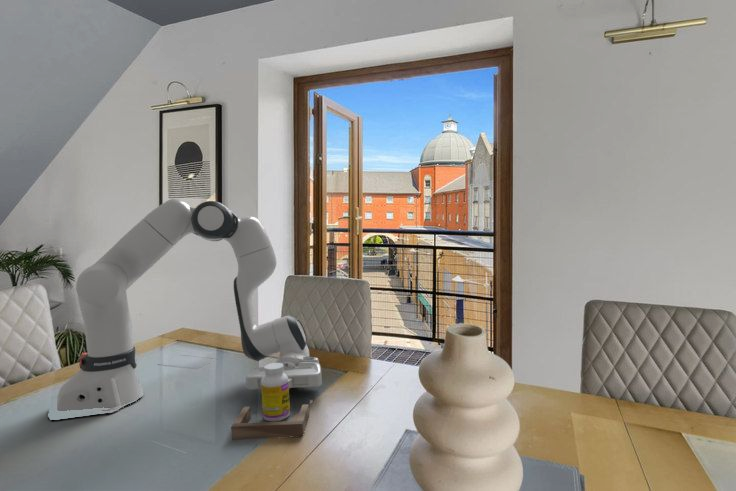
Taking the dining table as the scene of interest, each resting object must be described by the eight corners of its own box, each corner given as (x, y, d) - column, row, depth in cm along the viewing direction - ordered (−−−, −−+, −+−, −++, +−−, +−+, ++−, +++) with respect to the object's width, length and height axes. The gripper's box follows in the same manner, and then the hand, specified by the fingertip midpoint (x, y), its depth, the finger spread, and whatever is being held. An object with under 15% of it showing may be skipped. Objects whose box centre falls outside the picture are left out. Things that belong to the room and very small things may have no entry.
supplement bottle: (285, 423, 106) (282, 370, 105) (259, 422, 107) (255, 370, 105) (293, 410, 112) (290, 361, 111) (268, 409, 113) (265, 361, 112)
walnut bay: (244, 418, 109) (243, 406, 109) (309, 416, 109) (308, 404, 109) (231, 439, 99) (231, 426, 99) (302, 436, 99) (302, 423, 99)
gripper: (252, 360, 126) (237, 378, 112) (323, 357, 126) (318, 375, 112) (253, 381, 126) (239, 402, 113) (324, 378, 126) (319, 399, 113)
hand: (279, 389), depth 112 cm, fingers closed, pressing on supplement bottle
